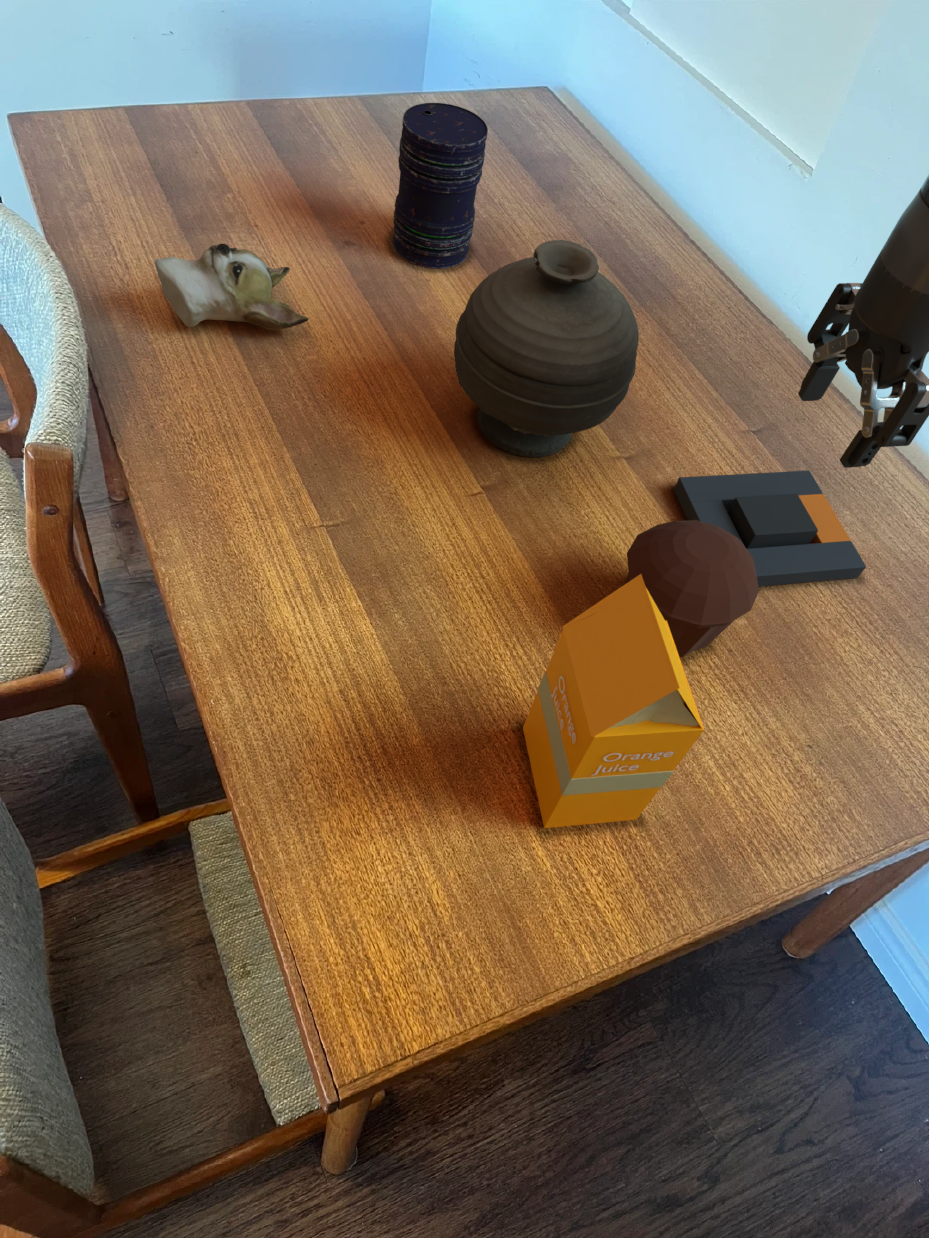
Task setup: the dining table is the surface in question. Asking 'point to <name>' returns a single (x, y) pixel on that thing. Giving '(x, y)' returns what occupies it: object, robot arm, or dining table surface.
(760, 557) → the socket pad
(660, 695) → the orange juice
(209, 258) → the ceramic sculpture
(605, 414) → the pot
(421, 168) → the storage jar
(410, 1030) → the dining table surface
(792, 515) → the black block
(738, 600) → the muffin
